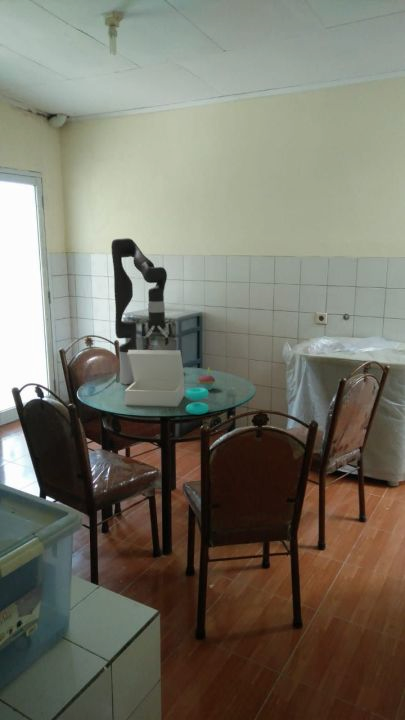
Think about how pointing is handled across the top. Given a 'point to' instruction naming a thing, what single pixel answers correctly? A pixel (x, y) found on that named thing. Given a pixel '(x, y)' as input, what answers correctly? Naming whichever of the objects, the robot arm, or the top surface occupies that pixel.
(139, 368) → the lid
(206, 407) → the donuts
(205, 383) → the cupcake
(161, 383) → the mailer base
